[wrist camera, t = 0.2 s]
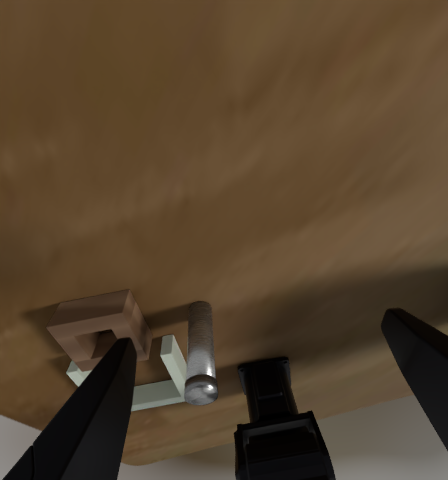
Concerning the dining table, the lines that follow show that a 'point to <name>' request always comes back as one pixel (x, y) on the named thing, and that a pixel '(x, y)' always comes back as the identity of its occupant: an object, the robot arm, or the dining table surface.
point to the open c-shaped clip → (156, 391)
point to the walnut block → (99, 327)
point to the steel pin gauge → (200, 356)
